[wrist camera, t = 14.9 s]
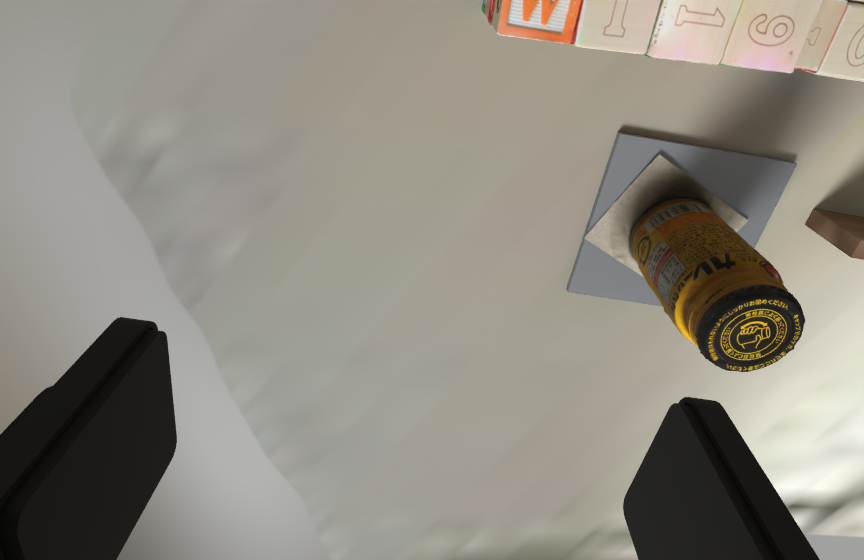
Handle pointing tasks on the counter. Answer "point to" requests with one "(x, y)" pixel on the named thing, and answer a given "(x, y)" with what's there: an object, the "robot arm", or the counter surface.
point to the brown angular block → (839, 231)
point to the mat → (711, 168)
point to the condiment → (701, 268)
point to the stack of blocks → (701, 30)
